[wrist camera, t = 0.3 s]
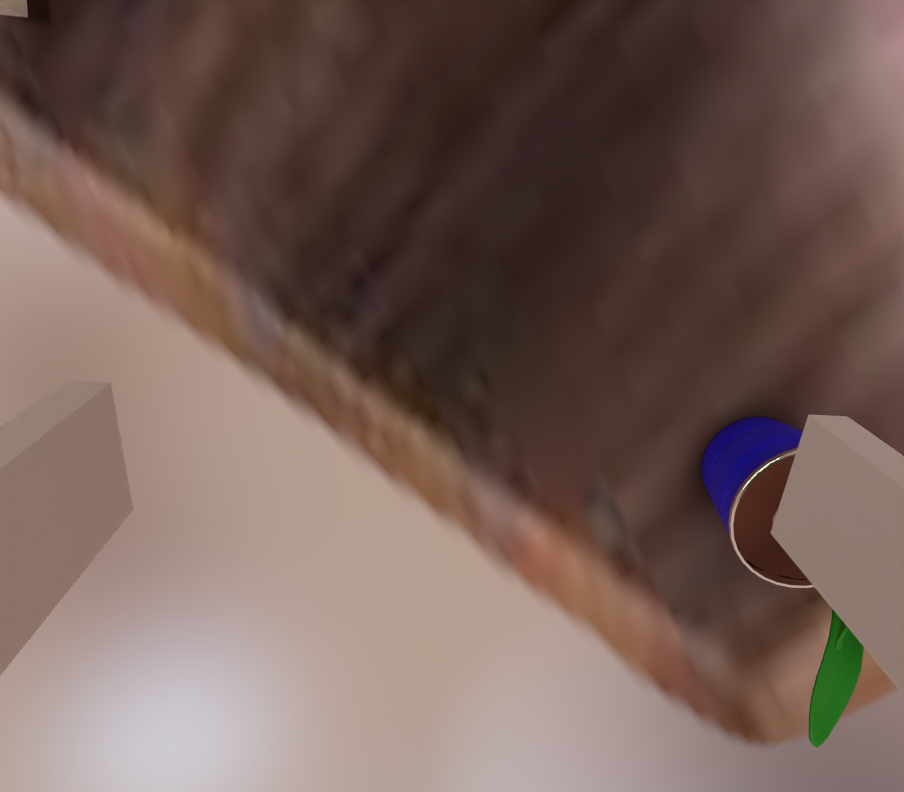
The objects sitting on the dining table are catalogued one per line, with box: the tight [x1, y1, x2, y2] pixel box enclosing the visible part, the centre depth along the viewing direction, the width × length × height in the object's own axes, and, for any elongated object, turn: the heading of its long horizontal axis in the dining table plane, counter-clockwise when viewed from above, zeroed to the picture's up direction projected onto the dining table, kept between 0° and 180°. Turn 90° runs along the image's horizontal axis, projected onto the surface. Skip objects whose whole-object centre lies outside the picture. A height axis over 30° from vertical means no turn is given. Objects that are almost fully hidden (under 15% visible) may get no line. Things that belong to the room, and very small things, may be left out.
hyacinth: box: [701, 417, 863, 747], centre depth 24 cm, size 9×10×30 cm
